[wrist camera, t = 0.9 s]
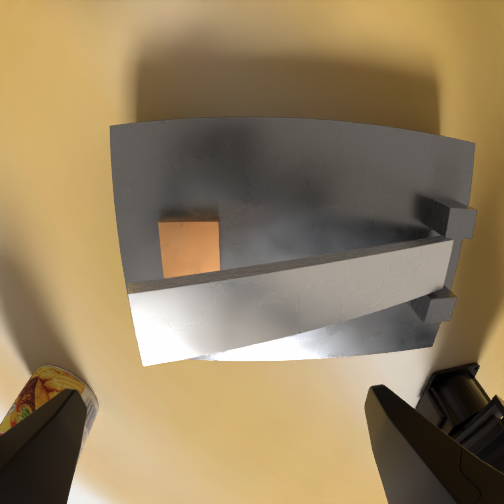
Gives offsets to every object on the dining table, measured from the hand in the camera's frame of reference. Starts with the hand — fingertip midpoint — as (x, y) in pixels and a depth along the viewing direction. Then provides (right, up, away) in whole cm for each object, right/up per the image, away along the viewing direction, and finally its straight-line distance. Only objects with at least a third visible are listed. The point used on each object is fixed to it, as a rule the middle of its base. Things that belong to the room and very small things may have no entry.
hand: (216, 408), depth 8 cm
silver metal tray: (+4, +6, +12) cm, 14 cm away
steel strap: (+4, +3, +5) cm, 7 cm away
